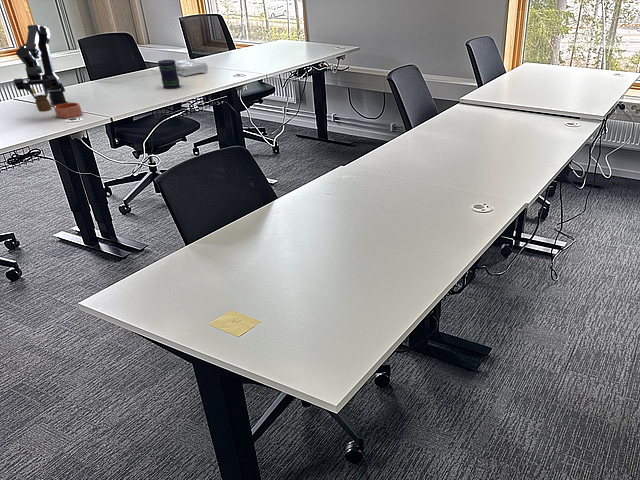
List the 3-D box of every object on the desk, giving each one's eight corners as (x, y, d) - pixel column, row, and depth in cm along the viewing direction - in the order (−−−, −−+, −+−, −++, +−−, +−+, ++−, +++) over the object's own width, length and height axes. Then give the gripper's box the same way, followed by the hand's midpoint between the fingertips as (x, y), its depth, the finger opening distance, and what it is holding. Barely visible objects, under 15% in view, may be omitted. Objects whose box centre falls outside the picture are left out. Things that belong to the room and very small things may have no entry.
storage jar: (164, 89, 342) (158, 63, 334) (162, 86, 350) (157, 60, 342) (181, 88, 346) (175, 62, 338) (179, 84, 353) (174, 59, 345)
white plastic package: (189, 66, 399) (186, 55, 395) (209, 72, 383) (207, 60, 379) (163, 71, 388) (160, 59, 384) (183, 77, 372) (181, 64, 367)
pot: (75, 111, 302) (72, 101, 299) (86, 114, 296) (83, 104, 293) (52, 115, 294) (49, 106, 291) (64, 119, 288) (60, 109, 285)
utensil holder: (54, 109, 288) (46, 84, 281) (45, 112, 282) (36, 87, 276) (44, 108, 289) (36, 83, 282) (35, 111, 284) (26, 87, 277)
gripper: (6, 61, 272) (14, 90, 270) (50, 58, 279) (57, 86, 277) (13, 75, 282) (21, 103, 280) (55, 71, 289) (62, 98, 287)
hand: (40, 97), depth 281 cm, fingers closed on utensil holder, 5 cm apart
